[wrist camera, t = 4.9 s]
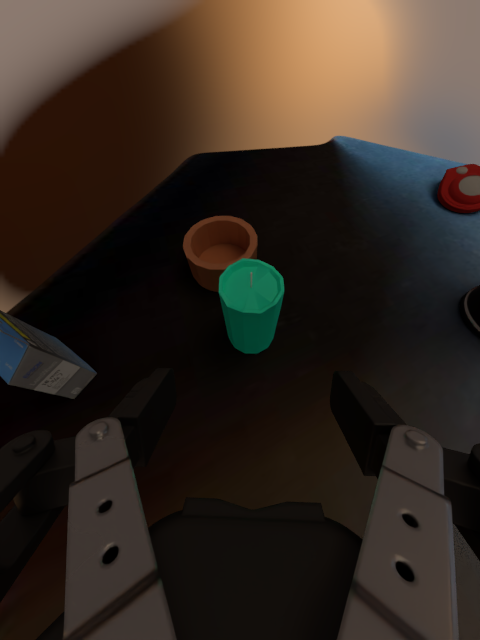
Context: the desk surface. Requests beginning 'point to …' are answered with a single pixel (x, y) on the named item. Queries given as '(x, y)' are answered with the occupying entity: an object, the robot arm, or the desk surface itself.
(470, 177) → the tracker holder
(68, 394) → the tape cartridge
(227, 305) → the candle
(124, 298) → the desk surface
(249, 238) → the holder
